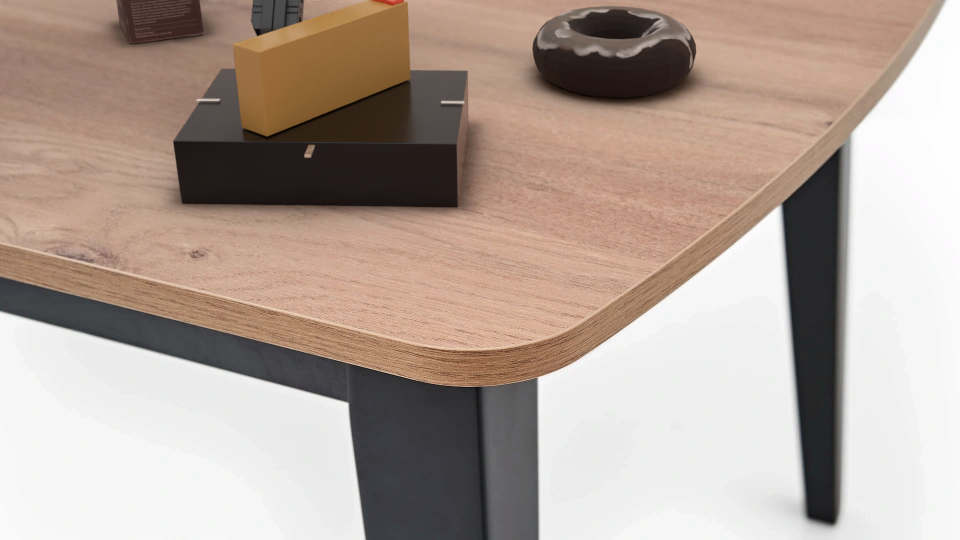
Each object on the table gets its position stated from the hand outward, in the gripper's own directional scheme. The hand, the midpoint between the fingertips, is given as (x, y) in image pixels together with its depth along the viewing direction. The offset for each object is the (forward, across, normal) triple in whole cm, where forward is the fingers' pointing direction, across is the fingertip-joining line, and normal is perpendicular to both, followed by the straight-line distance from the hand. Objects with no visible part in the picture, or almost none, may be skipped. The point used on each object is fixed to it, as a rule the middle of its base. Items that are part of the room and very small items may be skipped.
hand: (274, 43), depth 73 cm
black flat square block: (+6, -4, -4) cm, 8 cm away
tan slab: (+4, -3, -1) cm, 5 cm away
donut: (-5, -21, -15) cm, 27 cm away
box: (-12, +15, -22) cm, 29 cm away
